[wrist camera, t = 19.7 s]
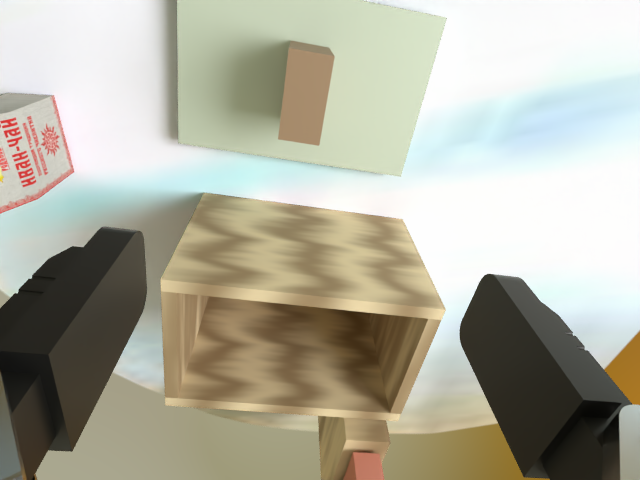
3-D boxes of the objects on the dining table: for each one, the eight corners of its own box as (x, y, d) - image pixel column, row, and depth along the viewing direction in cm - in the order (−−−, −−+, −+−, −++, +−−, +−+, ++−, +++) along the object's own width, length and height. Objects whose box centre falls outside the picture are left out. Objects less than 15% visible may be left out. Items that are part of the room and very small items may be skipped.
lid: (183, 137, 36) (156, 167, 29) (183, -36, 29) (148, -47, 23) (396, 169, 38) (417, 204, 32) (439, 17, 32) (476, 20, 25)
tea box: (32, 169, 36) (-50, 221, 28) (7, 92, 33) (-95, 124, 24) (74, 171, 37) (5, 223, 28) (53, 95, 33) (-32, 127, 25)
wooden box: (199, 378, 52) (165, 504, 39) (203, 192, 38) (155, 289, 25) (349, 389, 54) (365, 511, 41) (402, 219, 41) (450, 320, 28)
